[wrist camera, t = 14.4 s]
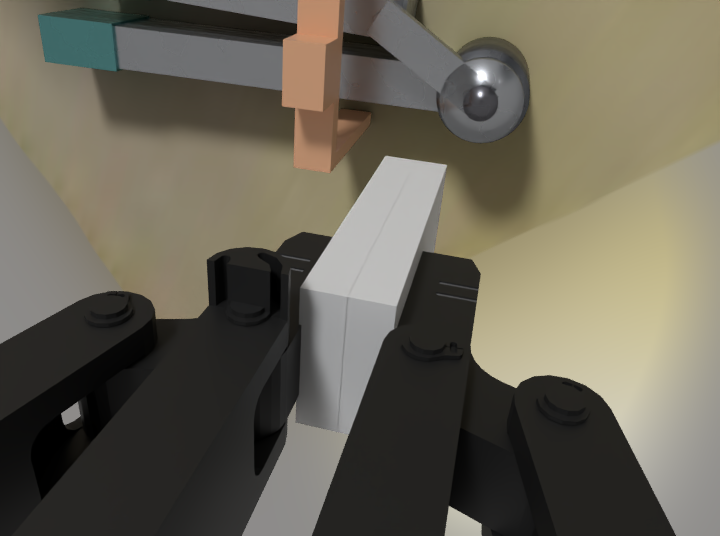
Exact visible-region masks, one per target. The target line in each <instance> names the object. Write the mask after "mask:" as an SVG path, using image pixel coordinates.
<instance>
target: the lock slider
mask: <svg viewBox="0 0 720 536" xmlns="http://www.w3.org/2000/svg"><path fill="white" fill-rule="evenodd" d="M344 9H345V0H298V15H297V34H295V35H292V36H290V37H288V38H285V39H283V72H282V106H284V107H291V108H295V134H294V167H295V168H301V169H308V170H314V171H320V172H327V173H331V171H332V170H333V169H334V168H335V167H336V165H337V164H338V163H339V162H340V160H341V159H342V158H343V157H344V156H345V154H346V153H347V152H348V151H349V150H350V148H351V147H352V146H353V145H354V144H355V142H356V141H357V140H358V139H359V138H360V136H361V135H362V134H363V133H364V131H365V130H366V129H367V128H368V127H369V125H370V121H371V112H364V111H357V110H350V109H342V108H341V109H340V110H339V93H340V77H341V60H342V43H343V26H344ZM338 110H339V111H338Z"/></svg>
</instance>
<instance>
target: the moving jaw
mask: <svg viewBox="0 0 720 536" xmlns="http://www.w3.org/2000/svg"><path fill="white" fill-rule="evenodd" d="M169 1H174V2H180V3H185V4H191V5H196V6H202V7H207V8H213V9H219V10H224V11H230V12H235V13H241V14H246V15H252V16H257V17H263V18H268V19H274V20H279V21H285V22H291V23H296V24H297V15H298V0H169ZM417 3H418V0H345V9H344V26H343V32H346V33H351V34H357V35H362V36H368V37H372V38H373V39H374V40H375V41H376V42H378V43H379V44H380V45H381V46H383V47H384V48H385V49H386V50H387V51H389V52H390V53H391V54H392V55H394V56H395V57H396V58H397V59H398V60H400V61H401V62H402V63H403V64H405V65H406V66H407V67H408V68H409V69H411V70H412V71H413V72H414V73H416V74H417V75H418V76H419V77H420V78H422V79H423V80H424V81H425V82H427V83H428V84H429V85H430V86H432V87H433V88H434V89H435V90H436V91H438V92H439V93H440V112H441V115H442V118H443V120H444V122H445V124H446V125H447V127H448V128H449V129H450V130H451V131H452V132H453V133H454V134H455V135H456V136H458V137H460V138H461V139H464V140H466V141H470V142H475V143H485V142H491V141H494V140H497V139H499V138H501V137H503V136H504V135H506V134H507V133H508V132H509V131H510V130H511V129H512V128H513V127H514V126H515V125H516V123H517V122H518V120H519V118H520V116H521V113H522V110H523V105H524V91H523V86H522V83H521V80H520V78H519V76H518V75H517V73H516V72H515V70H514V69H513V68H512V67H511V66H509V65H508V64H507V63H505V62H503V61H502V60H499V59H496V58H492V57H476V58H472V59H469V60H467V61H466V60H465V59H464V58H462V57H461V56H460V55H459V54H458V53H456V52H455V51H454V50H453V49H452V48H450V47H449V46H448V45H447V44H445V43H444V42H443V41H442V40H441V39H439V38H438V37H437V36H436V35H435V34H433V33H432V32H431V31H430V30H429V29H427V28H426V27H425V26H424V25H423V24H421V23H420V22H419V21H418V20H417V19H415V15H416V9H417Z"/></svg>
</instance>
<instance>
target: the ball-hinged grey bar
mask: <svg viewBox="0 0 720 536" xmlns="http://www.w3.org/2000/svg"><path fill="white" fill-rule="evenodd" d="M38 20H39V26H40V32H41V38H42V44H43V50H44V57H45V62H51V63H58V64H65V65H73V66H80V67H87V68H95V69H102V70H109V71H120V70H123V69H126V70H134V71H141V72H148V73H156V74H163V75H171V76H178V77H185V78H193V79H200V80H208V81H215V82H222V83H230V84H237V85H245V86H252V87H259V88H267V89H274V90H282V72H283V39H285V38H288V37H290V36H292V35H286V34H277V33H269V32H261V31H252V30H244V29H235V28H227V27H219V26H210V25H202V24H194V23H185V22H177V21H168V20H160V19H152V18H149V16H147V15H138V14H130V13H121V12H113V11H104V10H96V9H88V8H77V9H71V10H64V11H58V12H52V13H46V14H39V15H38ZM457 53H458V54H459V55H460V56H461V57H462V58H464V59H465V60H466V61H467V60H469V59H472V58H476V57H492V58H496V59H499V60H502V61H503V62H505V63H507V64H508V65H509V66H511V67H512V68H513V69H514V70H515V72H516V73H517V75H518V76H519V78H520V80H521V83H522V86H523V91H524V105H523V110H522V113H521V116H520V118H519V120H518V122H517V123H516V125H515V126H514V127H513V128H512V129H511V130H510V131H509V132H508V133H507V134H506V135H504V136H503V137H501V138H504V137H505V136H507V135H508V134H510V133H511V132H512V131H514V130H515V128H516V127H517V126H518V125H519V124H520V123H521V121H522V120H523V118H524V116H525V114H526V111H527V109H528V105H529V98H530V89H529V70H528V65H527V62H526V60H525V58H524V56H523V54H522V53H521V52H520V51H519V49H518V48H517V47H515V46H514V45H513V44H511V43H510V42H508V41H506V40H504V39H501V38H496V37H483V38H478V39H475V40H473V41H471V42H469V43H467V44H466V45H464V46H463V47H462V48H461V49H459V50H458V52H457ZM339 98H341V99H348V100H356V101H363V102H370V103H378V104H385V105H393V106H400V107H407V108H415V109H422V110H430V111H437V112H439V115H440V118H441V120H442V121H443V123H444V124H445V122H444V120H443V118H442V115H441V112H440V93H439V92H438V91H436V90H435V89H434V88H433V87H432V86H430V85H429V84H428V83H427V82H425V81H424V80H423V79H422V78H420V77H419V76H418V75H417V74H416V73H414V72H413V71H412V70H411V69H409V68H408V67H407V66H406V65H405V64H403V63H402V62H401V61H400V60H398V59H397V58H396V57H395V56H394V55H392V54H391V53H390V52H389V51H387V50H386V49H385V48H384V47H383V46H378V45H369V44H361V43H353V42H344V41H343V43H342V60H341V77H340V93H339ZM445 126H446V127H447V125H446V124H445ZM447 128H448V127H447ZM448 129H449V128H448ZM449 130H450V129H449ZM450 131H451V130H450ZM451 132H452V131H451ZM452 133H453V132H452ZM453 134H454V133H453ZM454 135H455V134H454ZM457 137H458V136H457ZM459 138H460V137H459ZM501 138H499V139H501ZM499 139H497V140H499ZM463 140H464V139H463ZM494 141H496V140H494ZM469 142H470V141H469ZM491 142H493V141H491ZM474 143H475V142H474ZM485 143H488V142H485Z"/></svg>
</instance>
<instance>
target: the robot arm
mask: <svg viewBox="0 0 720 536" xmlns="http://www.w3.org/2000/svg"><path fill="white" fill-rule="evenodd" d="M446 169H447V165H444V164H437V163H431V162H424V161H417V160H411V159H404V158H397V157H391V156H385V157H384V159H383V161H382V162H381V164H380V165H379V167H378V168H377V170H376V171H375V173H374V174H373V176H372V177H371V179H370V181H369V182H368V184H367V185H366V187H365V188H364V190H363V191H362V193H361V194H360V196H359V198H358V199H357V201H356V202H355V204H354V205H353V207H352V208H351V210H350V211H349V213H348V215H347V216H346V218H345V219H344V221H343V222H342V224H341V225H340V227H339V228H338V230H337V232H336V233H335V235H334V236H333V237H329V236H324V235H318V234H312V233H306V232H302V233H300V234H297V235H295V236H293V237H291V238H289V239H287V240H285V241H284V243H283V244H282V245H281V246H280V248H279V249H278V250H277V251H276V252H273V251H270V250H266V249H263V248H251V247H244V248H234V249H229V250H225V251H222V252H219V253H216V254H215V255H213V256H212V257H210V258H209V259H207V273H208V292H209V306H208V307H207V308H206V309H205V310H204V312H203V313H202V314H201V315H200V316H199V317H198V318H194V319H156V317H155V309H154V307H153V304H152V302H151V301H150V300H149V299H147V298H145V297H144V296H142V295H140V294H135V293H131V292H124V291H119V292H117V291H109V292H106V293H100V294H95V295H92V296H89V297H87V298H84V299H82V300H79V301H78V302H76V303H74V304H72V305H70V306H68V307H67V308H65V309H63V310H61V311H59V312H58V313H56V314H54V315H52V316H50V317H49V318H47V319H45V320H43V321H41V322H39V323H37V324H36V325H34V326H32V327H30V328H28V329H27V330H25V331H23V332H21V333H19V334H17V335H16V336H14V337H12V338H10V339H8V340H7V341H5V342H3V343H1V344H0V536H242V534H243V532H244V529H245V528H246V525H247V523H248V521H249V519H250V517H251V515H252V513H253V511H254V508H255V506H256V504H257V502H258V500H259V498H260V496H261V494H262V491H263V490H264V487H265V485H266V483H267V481H268V479H269V477H270V475H271V473H272V470H273V469H274V466H275V464H276V462H277V460H278V458H279V456H280V454H281V452H282V450H283V447H284V445H285V442H286V437H287V418H288V416H289V414H290V412H291V410H292V408H293V406H294V404H295V402H296V423H301V424H305V425H309V426H314V427H318V428H323V429H327V430H331V431H336V432H340V433H344V434H348V435H349V436H348V439H347V441H346V444H345V447H344V449H343V453H342V455H341V458H340V460H339V463H338V466H337V469H336V471H335V474H334V477H333V479H332V482H331V485H330V488H329V490H328V493H327V496H326V499H325V502H324V504H323V507H322V510H321V512H320V515H319V518H318V521H317V524H316V526H315V529H314V532H313V534H312V536H444V535H445V528H446V521H447V514H448V507H449V506H451V507H452V508H454V509H456V510H458V511H460V512H461V513H463V514H465V515H467V516H469V517H470V518H472V519H474V520H476V521H478V522H479V523H481V524H482V536H676V535H675V533H674V531H673V529H672V527H671V525H670V523H669V521H668V519H667V517H666V515H665V513H664V511H663V509H662V507H661V505H660V504H659V502H658V500H657V498H656V496H655V494H654V492H653V490H652V488H651V486H650V484H649V482H648V480H647V478H646V476H645V474H644V473H643V470H642V468H641V467H640V465H639V463H638V461H637V459H636V457H635V455H634V453H633V451H632V449H631V447H630V445H629V443H628V441H627V439H626V438H625V435H624V434H623V432H622V430H621V428H620V426H619V424H618V422H617V420H616V418H615V416H614V414H613V412H612V410H611V409H610V407H609V406H608V405H607V403H606V402H605V401H604V400H603V398H602V397H601V396H600V395H598V394H597V393H595V392H594V391H593V390H591V389H590V388H588V387H587V386H585V385H583V384H580V383H578V382H575V381H573V380H570V379H568V378H562V377H557V376H551V375H547V376H534V377H531V378H529V379H527V380H525V381H523V382H521V383H520V384H519V386H518V387H517V388H514V387H512V386H510V385H507V384H505V383H503V382H501V381H499V380H497V379H495V378H494V377H492V376H490V375H489V374H488V373H486V372H485V371H484V370H483V369H481V368H480V366H479V365H478V364H477V363H476V362H475V360H474V358H473V356H472V354H471V346H470V344H471V338H472V331H473V323H474V317H475V310H476V303H477V296H478V288H479V282H480V275H481V274H480V272H479V270H478V269H477V267H476V265H475V264H474V262H473V261H472V260H471V259H465V258H459V257H454V256H448V255H442V254H437V253H434V249H435V242H436V235H437V229H438V222H439V215H440V209H441V202H442V195H443V189H444V182H445V175H446ZM76 402H78V404H79V409H80V415H81V416H80V417H79V418H78V419H76V420H75V421H73V422H71V423H69V424H67V425H64V423H63V420H62V416H61V413H62V412H63V411H65V410H67V409H68V408H69V407H71V406H72V405H73V404H75V403H76Z"/></svg>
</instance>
